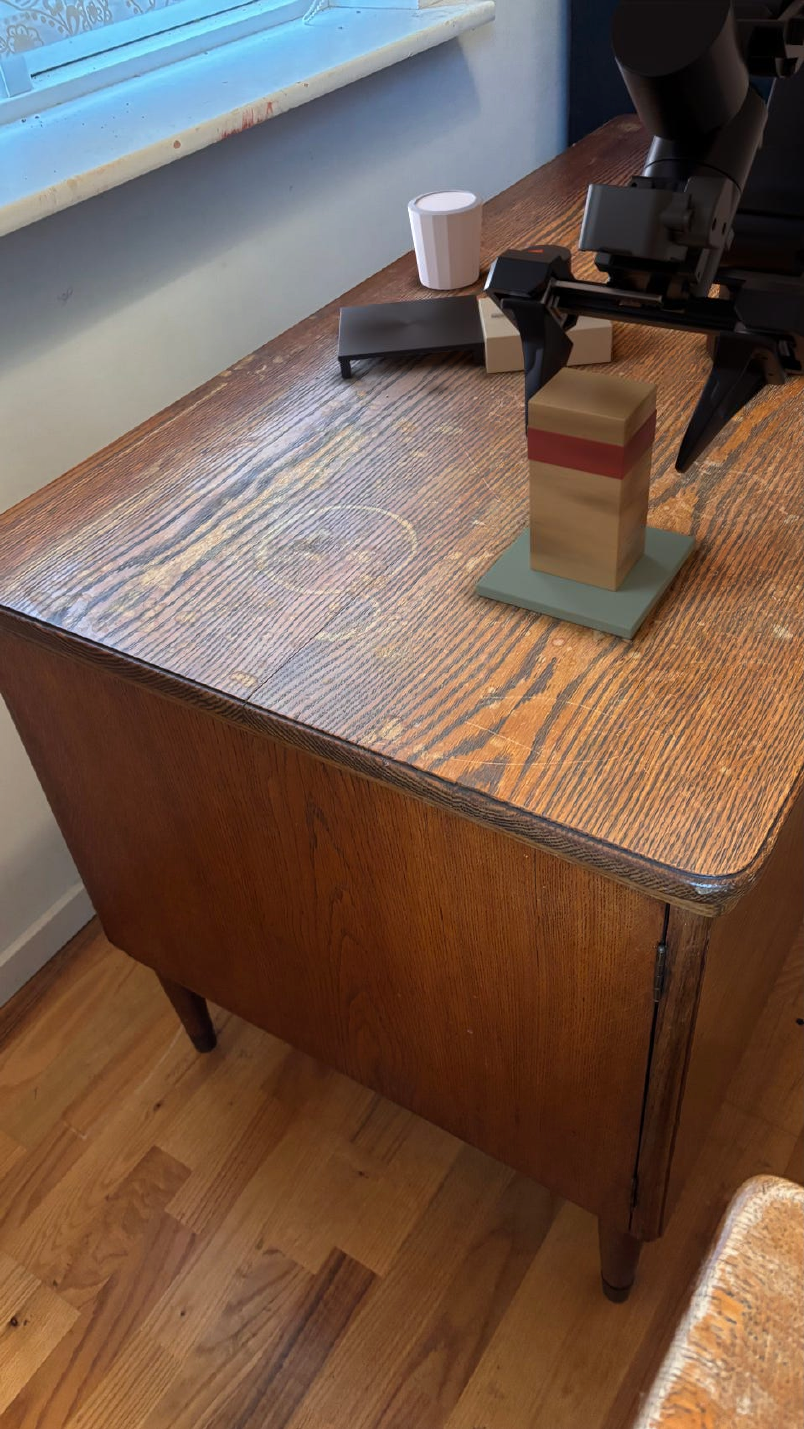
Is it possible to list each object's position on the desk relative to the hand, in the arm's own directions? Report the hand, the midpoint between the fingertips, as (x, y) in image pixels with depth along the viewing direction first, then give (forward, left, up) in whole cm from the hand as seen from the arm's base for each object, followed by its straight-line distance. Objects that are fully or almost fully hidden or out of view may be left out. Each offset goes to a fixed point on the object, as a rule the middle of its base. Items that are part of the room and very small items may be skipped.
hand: (602, 455), depth 60 cm
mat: (+1, +1, -7) cm, 7 cm away
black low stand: (+11, -33, -7) cm, 36 cm away
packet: (+1, +1, -6) cm, 7 cm away
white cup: (+7, -48, -7) cm, 49 cm away
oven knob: (0, -31, -4) cm, 31 cm away
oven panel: (0, -31, -7) cm, 31 cm away
